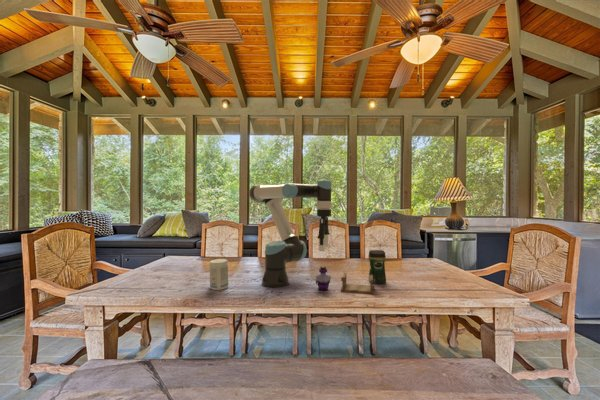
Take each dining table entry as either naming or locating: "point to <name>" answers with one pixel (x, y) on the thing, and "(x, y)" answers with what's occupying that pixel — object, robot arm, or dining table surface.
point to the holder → (357, 286)
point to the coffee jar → (377, 266)
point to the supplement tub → (218, 274)
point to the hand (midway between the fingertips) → (323, 248)
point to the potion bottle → (323, 279)
